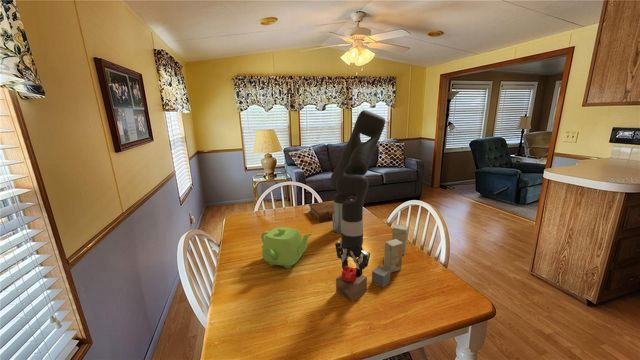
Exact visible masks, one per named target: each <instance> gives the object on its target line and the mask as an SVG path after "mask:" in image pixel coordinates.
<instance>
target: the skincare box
mask: <svg viewBox="0 0 640 360" xmlns="http://www.w3.org/2000/svg"><path fill="white" fill-rule="evenodd" d="M402 251H403V243H402V242H401V241H399V240H397V239H394V240H392V239H391V240H388V241H385V242H384V253H383V254H384V256H383V268H386V269H388V270H390V274H391V273H394V272H397V271H400V270H402V263H403V254H402Z"/></svg>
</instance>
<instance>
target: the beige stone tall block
mask: <svg viewBox="0 0 640 360" xmlns="http://www.w3.org/2000/svg"><path fill="white" fill-rule="evenodd" d="M408 229H409V226H407V225H400V224H394V225H393V226H392V233H391V234H392V235H391V237H392V238H391V240H394V239H397V240H399V241H401V242H402V243H403V251H402V255H405V254H406V251H407V245H408V244H407V241H408Z"/></svg>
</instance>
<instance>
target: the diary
mask: <svg viewBox="0 0 640 360" xmlns="http://www.w3.org/2000/svg"><path fill="white" fill-rule="evenodd" d="M308 206H309V209H310V210H309V211H308V212H309V214H310V215H312V216H313V217H314V218H315V220H316V221H318V223H321V222H326V221H333V213H334V199H333V200H329V201H322V202H315V203H309V204H308Z"/></svg>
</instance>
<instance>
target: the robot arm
mask: <svg viewBox="0 0 640 360" xmlns="http://www.w3.org/2000/svg"><path fill="white" fill-rule="evenodd" d="M385 124H386V119H385V117H383V116H381V115H380V114H377V113H374V112H372V111H369V110H366V109H363V110H362V111H360V113H359V114H358V116H357V118H356V120H355V123H354V126H353V129H352V132H351V135H350V136H349V140H348V141H347V144H346V145H345V147H344V149H343V152H342V155H341V157H340V159H339V161H338V163H337V165H336V167H335V168H334V169H333V170H332V173H331V176H330V178H329V179H330V180H329V184H330V187H331V188H332V190H336V191H337V192H338V193H335V195H333V200H334V213H333V219H332V230H333V231H334V232H335V233H337V234H340V235H341V239H340V240H338V241H337V242H335V244H334V245H335V251H336V257H337V259H340V261H341V268H342V271H344V266H349V261H348V260H349V258H351V259H352V261H353V263H354V264H355V265H356V267H355V268H356V277H358V278H359V277H360V276H361V275H363V270H365V269H366V268H367V267H369V261H370V258H371V252H369V251H368V252H366V251H365V250H364V249H363V243H364V220H363V219H364V217H363V216H364V215H363V214H364V213H363V212H364V211H363V210H364V209H363V208H364V203H365V198H366V196H367V193H368V190H369V186H370V184H369V179H368V177H366V176H365V175H366V174H367V173H368V170H369V166H370V163H371V159H372V157H373V154H374V152H375V150H376V148H377V145H378V143H379V141H380V139H381V136H382V134H383V132H384V128H385ZM361 135H363V136H366V137H368V138H369V139H368V140H366V141H365V142H363V143H362V140H361ZM352 196H353V197H356V198H355V199H352Z"/></svg>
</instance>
